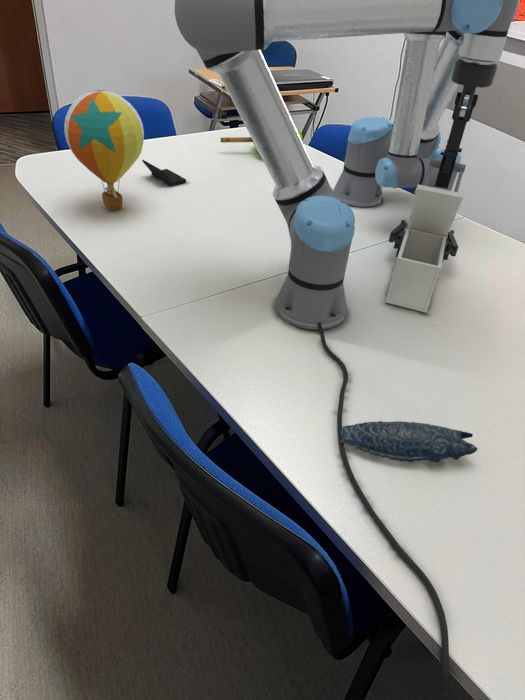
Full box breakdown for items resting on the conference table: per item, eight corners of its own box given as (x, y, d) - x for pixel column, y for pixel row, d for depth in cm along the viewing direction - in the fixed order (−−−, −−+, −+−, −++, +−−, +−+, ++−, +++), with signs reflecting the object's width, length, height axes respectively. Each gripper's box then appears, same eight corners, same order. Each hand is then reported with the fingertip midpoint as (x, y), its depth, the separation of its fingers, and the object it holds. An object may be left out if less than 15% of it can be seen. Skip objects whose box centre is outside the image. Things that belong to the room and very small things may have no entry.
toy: (64, 203, 145) (44, 85, 127) (127, 189, 156) (117, 79, 137) (97, 229, 134) (80, 105, 116) (162, 213, 145) (156, 96, 126)
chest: (426, 312, 115) (441, 268, 108) (385, 302, 117) (397, 257, 110) (432, 278, 128) (446, 236, 121) (395, 269, 130) (407, 227, 123)
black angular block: (190, 175, 164) (173, 153, 156) (179, 193, 163) (161, 172, 155) (166, 170, 170) (147, 148, 162) (155, 188, 169) (136, 167, 161)
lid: (463, 198, 103) (473, 159, 105) (416, 188, 105) (427, 151, 107) (446, 236, 121) (456, 202, 122) (407, 227, 123) (416, 194, 124)
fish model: (475, 475, 80) (486, 454, 77) (339, 458, 81) (344, 436, 78) (466, 443, 85) (476, 422, 82) (339, 427, 86) (344, 405, 83)
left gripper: (459, 52, 102) (427, 171, 117) (453, 63, 91) (419, 193, 106) (498, 57, 101) (461, 177, 115) (498, 69, 90) (457, 200, 104)
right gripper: (466, 242, 139) (461, 282, 123) (385, 225, 144) (370, 261, 127) (475, 216, 135) (472, 254, 118) (391, 199, 139) (376, 232, 123)
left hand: (441, 184), depth 111 cm, fingers closed on lid, 2 cm apart
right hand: (419, 257), depth 123 cm, fingers closed on chest, 9 cm apart
